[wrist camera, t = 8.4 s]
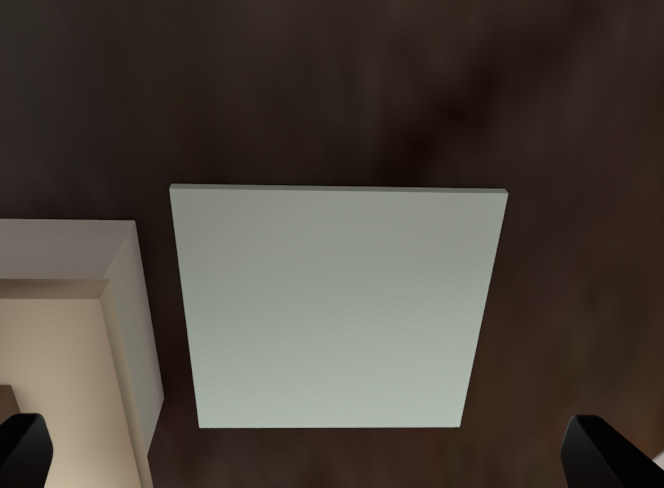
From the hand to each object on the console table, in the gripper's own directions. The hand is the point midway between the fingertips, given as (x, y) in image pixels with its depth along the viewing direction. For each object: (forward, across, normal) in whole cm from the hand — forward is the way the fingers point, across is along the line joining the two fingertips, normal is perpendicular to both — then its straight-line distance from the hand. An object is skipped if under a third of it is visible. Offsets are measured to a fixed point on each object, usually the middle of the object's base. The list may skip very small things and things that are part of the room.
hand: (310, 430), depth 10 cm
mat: (+12, -1, +7) cm, 14 cm away
